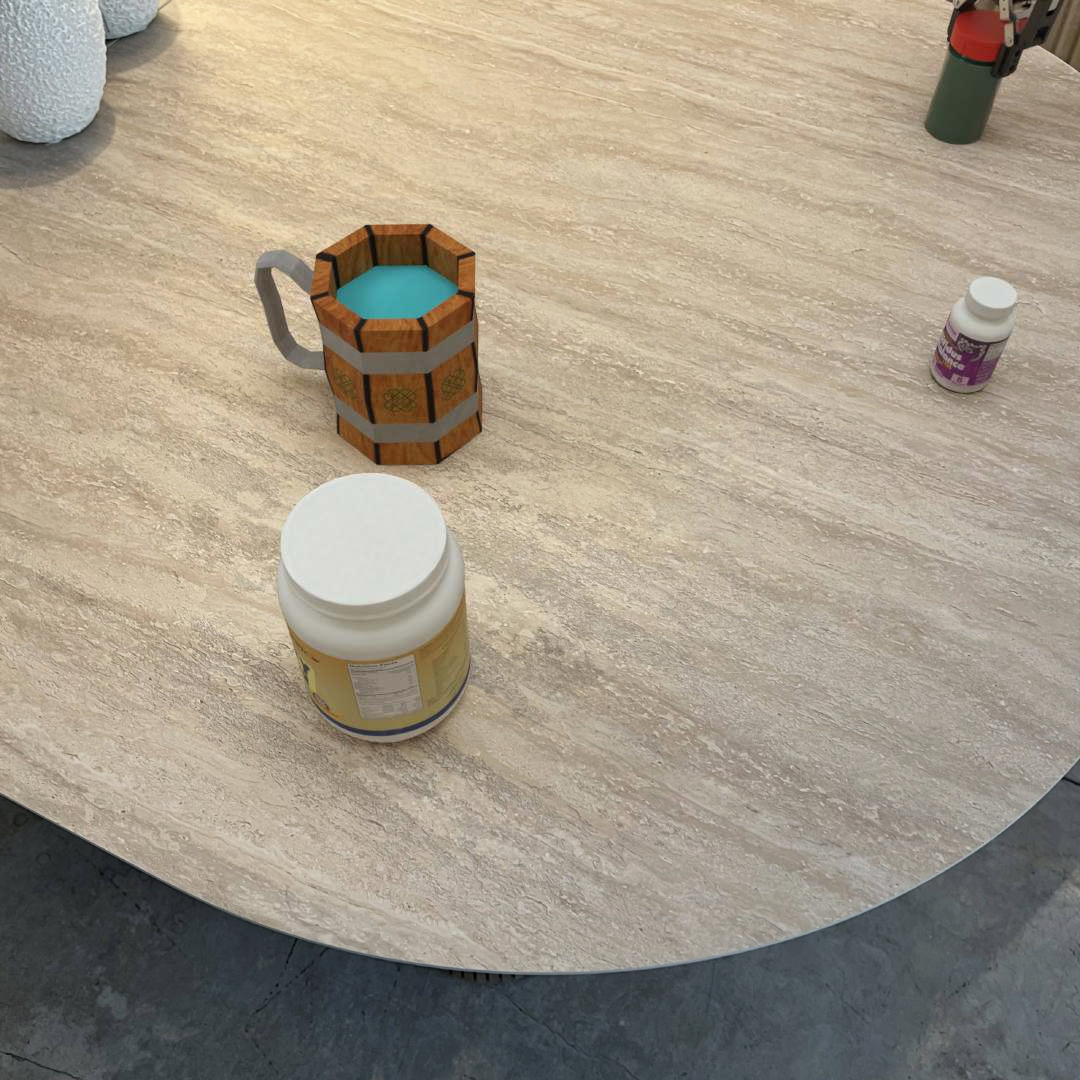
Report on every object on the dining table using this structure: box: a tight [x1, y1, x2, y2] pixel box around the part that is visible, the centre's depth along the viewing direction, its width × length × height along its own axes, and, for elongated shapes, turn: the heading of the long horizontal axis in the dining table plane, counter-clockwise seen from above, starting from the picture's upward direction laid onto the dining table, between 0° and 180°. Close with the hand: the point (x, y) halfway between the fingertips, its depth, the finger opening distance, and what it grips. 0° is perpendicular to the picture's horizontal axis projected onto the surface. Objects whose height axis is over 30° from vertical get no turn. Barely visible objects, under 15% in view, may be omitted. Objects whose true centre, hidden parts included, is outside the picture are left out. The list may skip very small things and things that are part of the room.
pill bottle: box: [930, 276, 1019, 394], centre depth 100 cm, size 5×5×10 cm
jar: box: [924, 42, 1004, 145], centre depth 123 cm, size 6×6×11 cm
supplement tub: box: [276, 472, 472, 743], centre depth 77 cm, size 12×12×17 cm
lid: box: [950, 8, 1019, 62], centre depth 118 cm, size 7×7×2 cm
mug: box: [253, 223, 483, 466], centre depth 95 cm, size 20×14×15 cm
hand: (977, 58), depth 121 cm, fingers closed on lid, 6 cm apart
